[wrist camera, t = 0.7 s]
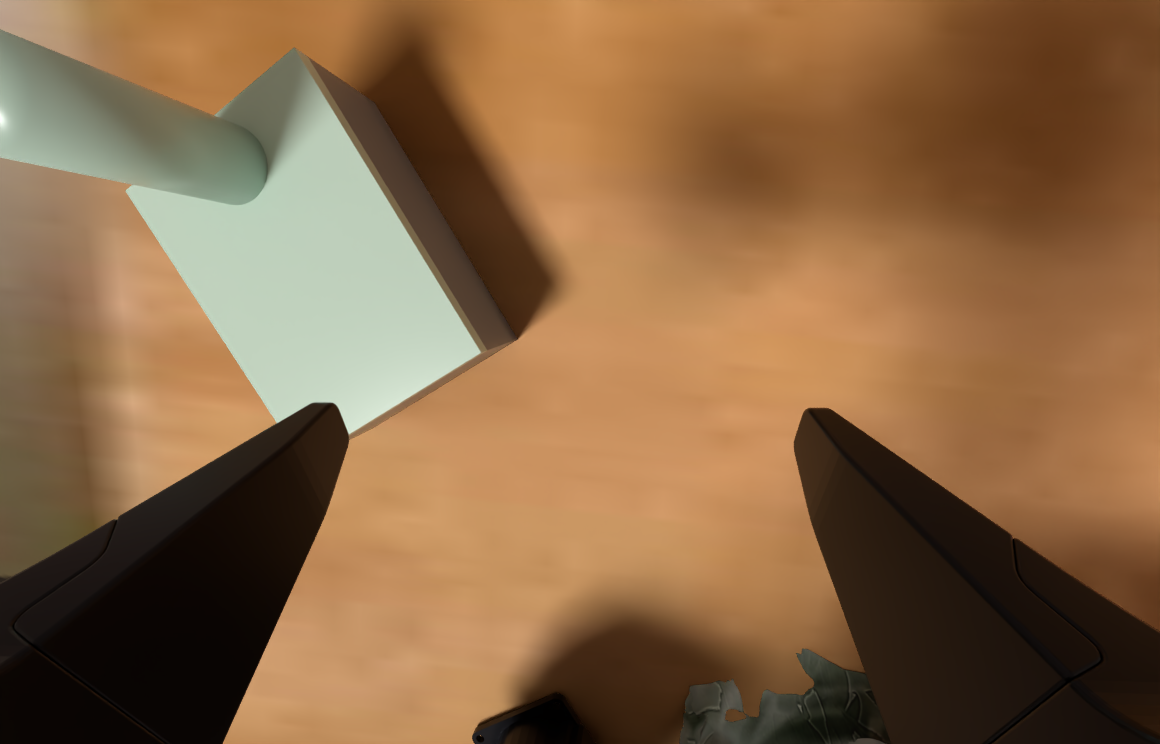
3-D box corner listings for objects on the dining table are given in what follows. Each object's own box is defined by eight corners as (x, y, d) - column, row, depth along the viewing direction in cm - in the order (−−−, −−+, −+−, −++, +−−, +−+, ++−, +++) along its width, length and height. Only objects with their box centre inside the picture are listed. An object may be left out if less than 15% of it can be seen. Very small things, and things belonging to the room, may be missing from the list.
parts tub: (372, 428, 28) (314, 456, 23) (235, 211, 27) (143, 194, 22) (517, 339, 26) (487, 350, 21) (374, 102, 25) (307, 56, 20)
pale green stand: (320, 454, 24) (117, 554, 15) (152, 195, 23) (-175, 133, 14) (490, 349, 22) (376, 390, 13) (314, 61, 21) (55, -117, 12)
